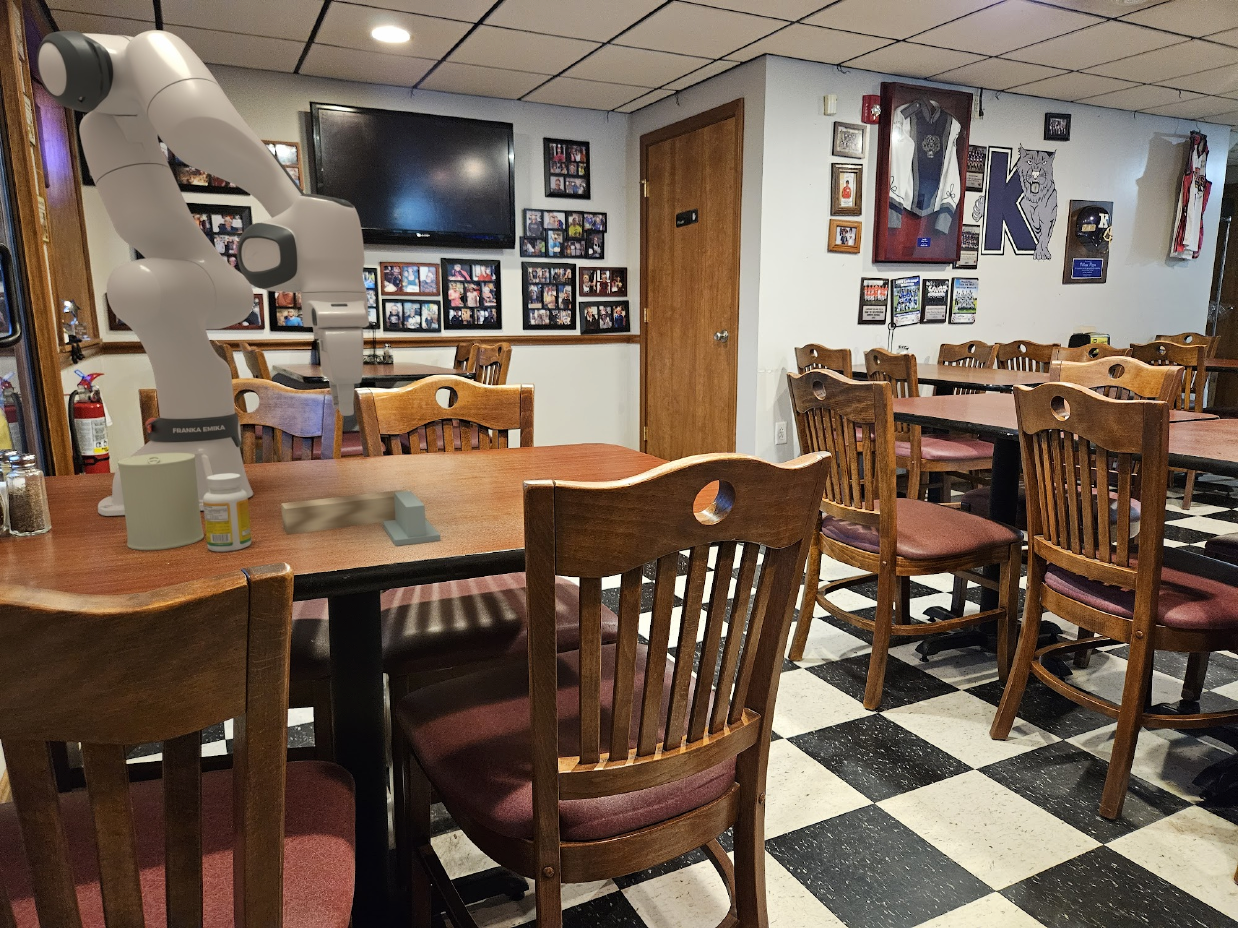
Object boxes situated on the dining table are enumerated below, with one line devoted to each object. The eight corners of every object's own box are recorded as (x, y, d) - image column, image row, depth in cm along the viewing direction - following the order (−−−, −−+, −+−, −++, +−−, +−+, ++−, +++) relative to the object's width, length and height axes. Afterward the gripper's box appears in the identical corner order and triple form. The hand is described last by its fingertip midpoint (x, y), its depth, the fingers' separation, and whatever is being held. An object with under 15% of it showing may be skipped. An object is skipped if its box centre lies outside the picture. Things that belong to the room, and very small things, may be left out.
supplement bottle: (215, 555, 104) (207, 482, 102) (202, 546, 108) (194, 476, 106) (258, 546, 108) (251, 476, 106) (244, 538, 111) (237, 470, 110)
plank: (287, 536, 113) (285, 509, 113) (283, 530, 117) (281, 503, 116) (414, 519, 122) (413, 494, 122) (407, 514, 126) (405, 489, 125)
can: (122, 554, 105) (110, 463, 102) (132, 536, 113) (122, 452, 111) (201, 545, 108) (192, 457, 106) (206, 529, 117) (197, 447, 114)
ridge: (395, 545, 107) (393, 509, 106) (382, 526, 117) (380, 493, 116) (440, 540, 110) (438, 504, 109) (424, 522, 120) (422, 489, 119)
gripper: (306, 315, 122) (314, 406, 124) (317, 314, 104) (326, 420, 106) (350, 314, 125) (357, 403, 127) (368, 313, 106) (375, 417, 109)
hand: (343, 411), depth 116 cm, fingers open, 8 cm apart
